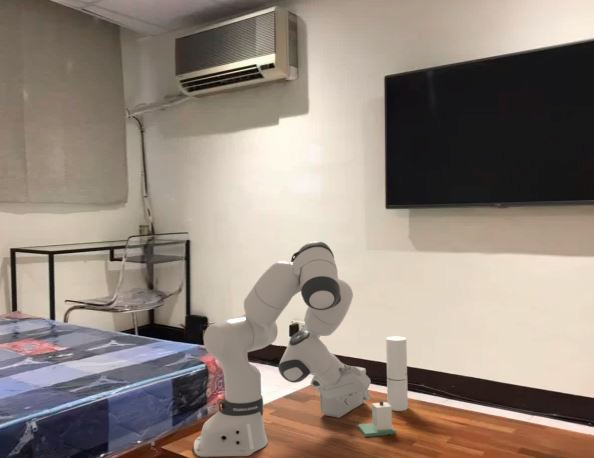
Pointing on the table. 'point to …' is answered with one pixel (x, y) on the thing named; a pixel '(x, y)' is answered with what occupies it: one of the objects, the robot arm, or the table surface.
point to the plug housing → (381, 415)
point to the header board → (374, 430)
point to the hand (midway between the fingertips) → (358, 400)
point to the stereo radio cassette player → (339, 408)
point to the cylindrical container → (397, 373)
